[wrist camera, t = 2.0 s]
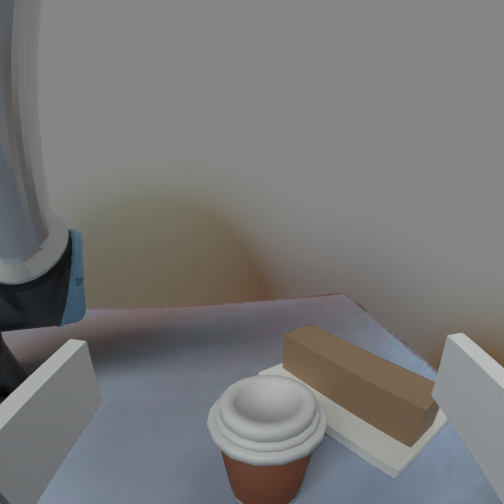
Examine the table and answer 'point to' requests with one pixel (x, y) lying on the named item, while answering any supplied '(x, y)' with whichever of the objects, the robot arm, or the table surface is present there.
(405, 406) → the stand
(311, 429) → the coffee cup
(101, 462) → the table surface
